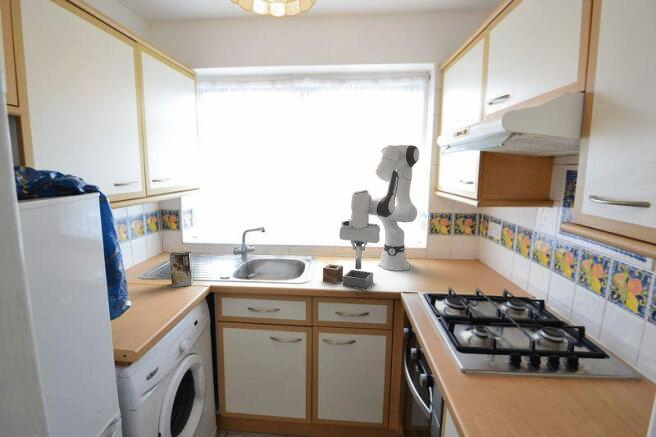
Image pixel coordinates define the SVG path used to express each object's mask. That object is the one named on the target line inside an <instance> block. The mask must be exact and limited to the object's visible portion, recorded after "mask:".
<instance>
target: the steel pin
mask: <svg viewBox="0 0 656 437" xmlns="http://www.w3.org/2000/svg"><path fill="white" fill-rule="evenodd" d="M354 244H355V246H356V250H355V262H354V263H355V266H354V267H355V269H354V270H362V258H363V256H362V254H363V253H362V252H363V251H361V247H363V245H364V242H359V241H354Z"/></svg>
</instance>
